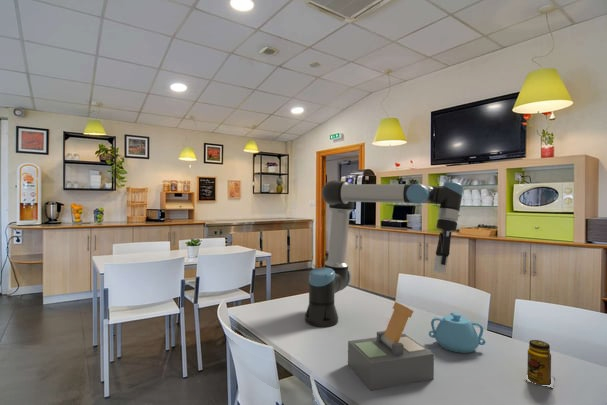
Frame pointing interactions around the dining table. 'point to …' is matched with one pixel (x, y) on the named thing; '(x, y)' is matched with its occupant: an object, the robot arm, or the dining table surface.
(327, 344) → the dining table surface
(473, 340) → the teapot
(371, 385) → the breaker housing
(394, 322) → the breaker lever
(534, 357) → the condiment
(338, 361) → the dining table surface
